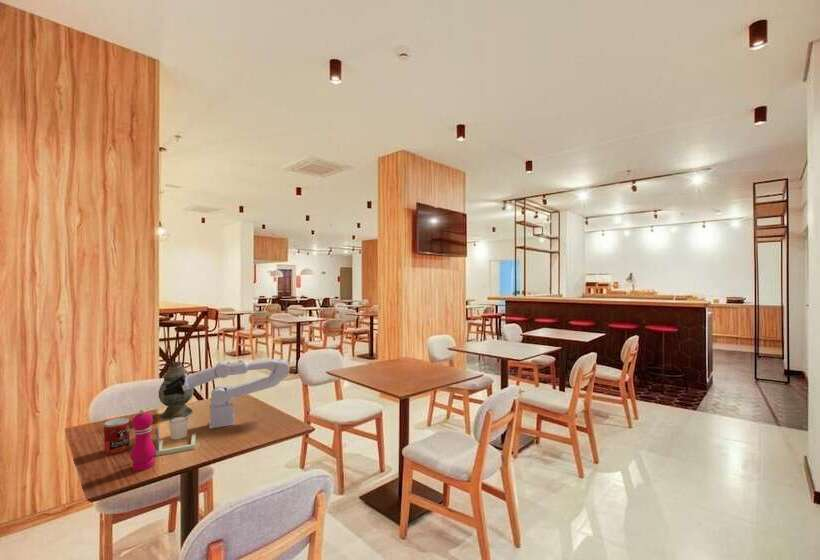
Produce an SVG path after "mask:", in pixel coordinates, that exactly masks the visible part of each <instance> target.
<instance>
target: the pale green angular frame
mask: <svg viewBox="0 0 820 560" xmlns="http://www.w3.org/2000/svg"><path fill="white" fill-rule="evenodd" d="M153 435H156V436H155V437H156V441H155V442H156V443H155V444H156V449H155V450H156V453H155V456H156V457H157V456H158V457H159V456H164V455H169V454H175V453H180V452H186V451H190V450H195V447H196V441H197V440H196V439H197V437H196V436H197V435H196V433H194V434H193V433H192V435H191V440H190V444H186V445H181V446H175V447H169V448H168V447H167V448H164V449H163V446H164V439H160V428H159V427H156V428H153V429H152V428H151V431H150V436H153Z"/></svg>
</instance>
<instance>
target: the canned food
mask: <svg viewBox="0 0 820 560" xmlns="http://www.w3.org/2000/svg"><path fill="white" fill-rule="evenodd" d="M103 437H104V439H103V440H104V442H103V444H104V452H105V455H117V454H121V453H124V452H126V451H127V450H128V449H130V448H129V447H130V419H129V418H127V417H117V418H112V419H110V420H107V421H105V422H104V424H103Z"/></svg>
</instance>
